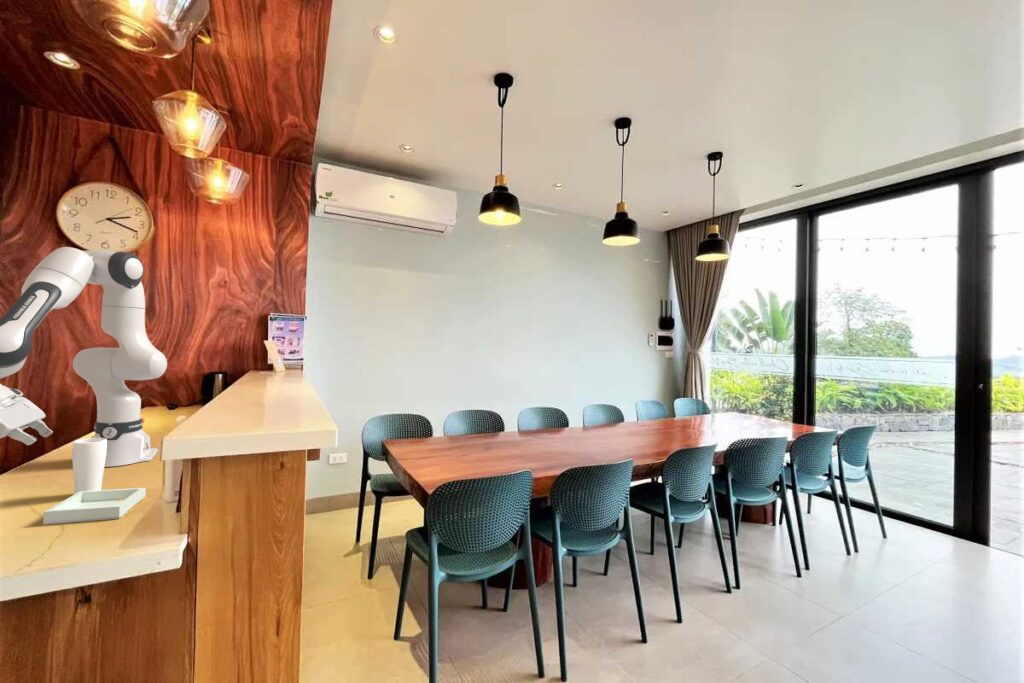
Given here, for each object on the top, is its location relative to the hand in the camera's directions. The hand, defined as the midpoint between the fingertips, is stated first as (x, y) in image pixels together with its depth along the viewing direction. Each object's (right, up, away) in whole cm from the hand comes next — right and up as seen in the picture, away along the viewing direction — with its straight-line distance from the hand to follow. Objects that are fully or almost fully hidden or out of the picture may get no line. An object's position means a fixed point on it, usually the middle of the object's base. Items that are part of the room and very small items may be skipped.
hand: (41, 438), depth 114 cm
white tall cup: (+7, -17, +5) cm, 19 cm away
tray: (+19, -17, -5) cm, 26 cm away
